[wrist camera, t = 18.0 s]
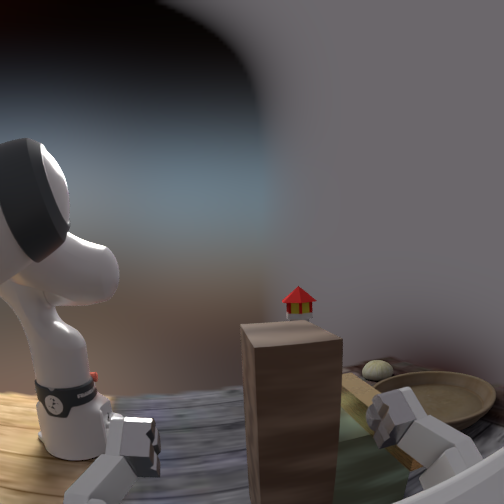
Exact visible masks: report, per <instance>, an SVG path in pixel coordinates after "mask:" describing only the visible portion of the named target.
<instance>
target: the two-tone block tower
mask: <svg viewBox="0 0 504 504" xmlns="http://www.w3.org/2000/svg"><path fill="white" fill-rule="evenodd" d="M240 331H241V350H242V371H243V372H242V373H243V392H244V411H245V429H246V446H247V463H248V479H249V494H250V500H251V504H392V503H395V502H398V501H400V500H402V499H403V496H404V492H405V488H406V484H407V480H408V476H409V472H410V471H409V470H408V469H407V468H406V467H405V466H403V465H402V464H401V463H400V462H399V461H398V460H397V459H396V458H395V457H394V456H392V455H391V454H390V453H389V452H388V451H387V450H386V449H385V448H382V449H378V446H377V444H376V442H375V440H374V438H373V437H372V436H371V435H370V434H369V433H368V432H367V431H366V430H365V429H364V428H362V427H361V426H360V425H359V424H358V423H357V422H356V421H355V420H354V419H353V418H352V417H351V416H350V415H349V414H348V413H347V412H346V411H345V410H344V409H343V408H342V407H341V392H342V357H343V356H342V355H343V339H342V338H340V337H338V336H336V335H334V334H332V333H330V332H328V331H326V330H324V329H322V328H320V327H318V326H316V325H314V324H312V323H310V322H308V321H306V320H296V321H283V322H271V323H255V324H241V325H240Z"/></svg>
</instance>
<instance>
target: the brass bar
mask: <svg viewBox="0 0 504 504" xmlns="http://www.w3.org/2000/svg"><path fill="white" fill-rule="evenodd" d="M377 394H381V392H379V391H378V390H376V389H375V388H373V387H372V386H370V385H369V384H367V383H366V382H364V381H363V380H361V379H360V378H358V377H357V376H355V375H354V374H352V373H347V374H342V392H341V407H342V408H343V409H344V410H345V411H346V412H347V413H348V414H349V415H350V416H351V417H352V418H353V419H354V420H355V421H356V422H357V423H358V424H359V425H360V426H361V427H362V428H364V429H365V430H366V431H367V432H368V433H369V434H370V435H371V436H372V437H373V436H374V432H375V431H373V430H372V429H370V428H369V426H368V424H367V420H366V412H367V409H368V407H369V406H370V405H372V404H373V402H372V399H373V397H374V396H375V395H377ZM373 438H374V437H373ZM385 449H386V450H387V451H388V452H389V453H390V454H391V455H392V456H394V457H395V458H396V459H397V460H398V461H399V462H400V463H401V464H402V465H403V466H405V467H406V468H407V469H408V470H409V471H413V470H416V469H418V468H420V467H423V465H421V464H420V463H419V462H417V461H416V460H415V459H414V458H412V457H411V456H410V455H408V454H407V453H406V452H405V451H403V450H402V449H401V448H399V447H398V446H397V444H396V445H393V446H389V447H386V448H385Z"/></svg>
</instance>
